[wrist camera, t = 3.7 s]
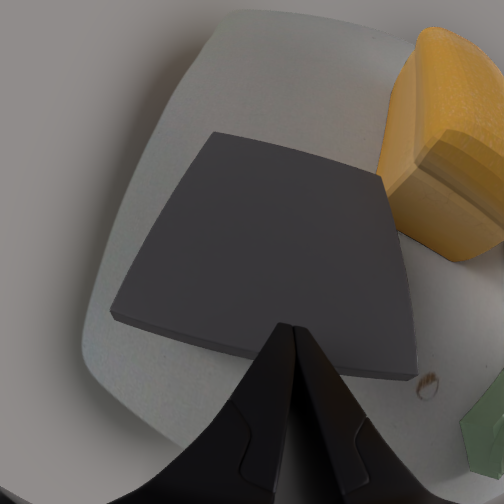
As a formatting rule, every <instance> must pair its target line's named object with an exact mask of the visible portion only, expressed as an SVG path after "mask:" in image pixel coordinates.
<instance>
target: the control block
mask: <svg viewBox="0 0 504 504" xmlns="http://www.w3.org/2000/svg"><path fill="white" fill-rule="evenodd" d="M459 423H460V426H461V430H462V434H463V438H464V442H465V447H466V451H467V456H468V461H469V466H470V471H472V472H475V473H478V474H481V475H485V476H488V477H491V478H495V479H498V480H499V479H500V478H501V476H502V475H503V474H504V369H503V370H502V372H501V373H500V374H499V376H498V377H497V378H496V380H495V381H494V382H493V384H492V385H491V386H490V387H489V389H488V390H487V391H486V392H485V394H484V395H483V396H482V397H481V398H480V400H479V401H478V402H477V403H476V404H475V405H474V407H473V408H472V409H471V410H470V411H469V412H468V413H467V414H466V415H465V416H464V418H463V419H462V420H461V421H460V422H459Z"/></svg>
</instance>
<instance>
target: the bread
mask: <svg viewBox="0 0 504 504" xmlns="http://www.w3.org/2000/svg"><path fill="white" fill-rule="evenodd" d="M376 175H379V176H381V178H382V181H383V184H384V187H385V191H386V194H387V197H388V201H389V204H390V208H391V211H392V215H393V219H394V222H395V226H396V229H397V230H398V231H400V232H402V233H404V234H406V235H407V236H409V237H411V238H413V239H414V240H416V241H418V242H420V243H421V244H423V245H425V246H427V247H428V248H430V249H432V250H433V251H435V252H437V253H438V254H440V255H442V256H443V257H445V258H447V259H448V260H450V261H452V262H458V261H464V260H469V259H471V258H473V257H476V256H478V255H480V254H482V253H484V252H486V251H488V250H490V249H491V248H493V247H495V246H496V245H498V244H499V243H501V242H502V241H504V77H503V75H502V73H501V72H500V70H499V69H498V68H497V66H496V65H495V64H494V63H493V62H492V61H491V59H490V58H489V57H488V56H487V55H486V54H485V53H484V52H483V51H482V50H481V49H480V48H478V47H477V46H476V45H475V44H473V43H472V42H470V41H468V40H467V39H465V38H463V37H461V36H459V35H457V34H455V33H453V32H451V31H448V30H446V29H444V28H440V27H429V28H426V29H424V30H423V31H422V32H421V33H420V34H419V36H418V39H417V42H416V46H415V50H414V51H413V52H412V53H411V55H410V56H409V58H408V60H407V61H406V63H405V65H404V66H403V68H402V70H401V72H400V74H399V76H398V78H397V80H396V82H395V84H394V87H393V90H392V93H391V98H390V104H389V110H388V116H387V122H386V128H385V133H384V139H383V144H382V149H381V154H380V158H379V163H378V168H377V172H376Z"/></svg>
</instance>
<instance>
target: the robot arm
mask: <svg viewBox="0 0 504 504" xmlns="http://www.w3.org/2000/svg"><path fill="white" fill-rule="evenodd" d="M366 416H367V415H366V413H365V412H364V410H363V409H362V408H361V406H360V405H359V403H358V402H357V400H356V399H355V397H354V396H353V394H352V393H351V391H350V390H349V388H348V387H347V385H346V384H345V383H344V381H343V380H342V378H341V377H340V375H339V374H338V372H337V371H336V369H335V368H334V366H333V365H332V363H331V362H330V361H329V359H328V358H327V356H326V355H325V353H324V352H323V350H322V349H321V347H320V346H319V344H318V343H317V341H316V340H315V339H314V337H313V336H312V334H311V333H310V331H309V330H308V329H307V328H306V327H301V326H296V325H294V326H292V325H291V324H287V323H282V322H279V323H277V325H276V327H275V328H274V330H273V331H272V333H271V335H270V336H269V338H268V339H267V341H266V343H265V344H264V346H263V347H262V349H261V351H260V352H259V354H258V355H257V357H256V358H255V360H254V361H253V363H252V365H251V366H250V368H249V369H248V371H247V372H246V374H245V375H244V377H243V378H242V380H241V381H240V383H239V384H238V386H237V387H236V389H235V390H234V392H233V393H232V395H231V396H230V398H229V400H227V402H226V403H225V405H224V406H223V407H222V409H221V410H220V412H219V413H218V414H217V416H216V417H215V418H214V419H213V421H212V422H211V423H210V425H209V426H208V427H207V428H206V429H205V430H204V431H203V432H202V433H201V434H200V435H199V436H198V437H197V438H196V440H194V441H193V442H192V443H191V444H190V445H189V446H188V447H187V448H186V449H185V450H184V451H183V452H182V453H181V454H180V455H179V456H178V457H176V458H175V460H173V461H172V462H171V463H170V464H169V465H168V466H167V467H165V468H164V469H163V470H162V471H161V472H160V473H159V474H157V475H156V476H155V477H154V478H152V479H151V480H150V481H148V482H147V483H145V484H144V485H143V486H141V487H139V488H138V489H136V490H134V491H132V492H130V493H128V494H126V495H124V496H122V497H120V498H118V499H116V500H114V501H112V502H110V503H107V504H459V503H455V502H452V501H448V500H445V499H442V498H439V497H437V496H435V495H434V494H432V493H431V492H429V491H428V490H427V489H426V488H425V487H424V486H423V485H422V484H421V483H420V482H419V481H418V480H417V478H416V477H415V476H414V475H413V474H412V473H411V472H410V470H409V469H408V468H407V467H406V466H405V465H404V463H403V462H402V461H401V460H400V459H399V458H398V457H397V455H396V454H395V453H394V452H393V450H392V449H391V448H390V447H389V445H388V444H387V443H386V442H385V440H384V439H383V438H382V436H381V435H380V433H379V432H378V431H377V429H376V428H375V426H374V425H373V424H372V422H371V421H370V419H369V418H368V417H366ZM0 504H31V503H30V502H27V501H26V500H24V499H22V498H20V497H18V496H16V495H15V494H13V493H11V492H10V491H8V490H6V489H4V488H3V487H0Z"/></svg>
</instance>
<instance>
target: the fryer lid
mask: <svg viewBox="0 0 504 504" xmlns="http://www.w3.org/2000/svg"><path fill="white" fill-rule="evenodd" d="M110 312H111V314H112V316H113V318H114V320H116V321H119V322H122V323H124V324H127V325H130V326H133V327H136V328H139V329H142V330H145V331H148V332H151V333H154V334H158V335H161V336H164V337H167V338H171V339H174V340H177V341H181V342H184V343H188V344H191V345H195V346H199V347H203V348H206V349H210V350H214V351H218V352H222V353H226V354H230V355H235V356H239V357H243V358H248V359H252V360H255V358H256V357H257V355H258V354H259V352H260V351H261V349H262V347H263V346H264V344H265V343H266V341H267V339H268V338H269V336H270V335H271V333H272V331H273V330H274V328H275V327H276V325H277V323H279V322H282V323H287V324H291V325H292V326H294V325H296V326H301V327H306V328H307V329H308V330H309V331H310V333H311V334H312V336H313V337H314V339H315V340H316V341H317V343H318V344H319V346H320V347H321V349H322V350H323V352H324V353H325V355H326V356H327V358H328V359H329V361H330V362H331V363H332V365H333V366H334V368H335V369H336V371H337V372H338V374H339V375H347V376H355V377H364V378H374V379H386V380H400V381H408V380H410V379H412V378H414V377H416V376H418V374H419V372H418V357H417V346H416V336H415V327H414V319H413V312H412V305H411V298H410V292H409V286H408V281H407V276H406V270H405V265H404V261H403V256H402V251H401V247H400V243H399V238H398V234H397V230H396V226H395V222H394V219H393V215H392V211H391V208H390V204H389V201H388V197H387V194H386V191H385V187H384V184H383V181H382V178H381V176H379V175H376V174H373V173H370V172H367V171H364V170H362V169H359V168H356V167H352V166H349V165H346V164H343V163H340V162H337V161H333V160H330V159H327V158H323V157H320V156H317V155H313V154H309V153H306V152H302V151H298V150H295V149H291V148H287V147H283V146H279V145H275V144H271V143H266V142H262V141H258V140H253V139H249V138H244V137H239V136H234V135H229V134H224V133H218V132H213V133H212V134H211V136H210V137H209V139H208V140H207V142H206V143H205V144H204V146H203V147H202V149H201V150H200V152H199V153H198V155H197V156H196V158H195V159H194V161H193V162H192V164H191V165H190V167H189V168H188V170H187V171H186V173H185V174H184V176H183V177H182V179H181V181H180V182H179V184H178V185H177V187H176V188H175V190H174V192H173V193H172V195H171V197H170V198H169V200H168V201H167V203H166V205H165V206H164V208H163V210H162V211H161V213H160V215H159V217H158V218H157V220H156V222H155V223H154V225H153V227H152V229H151V230H150V232H149V234H148V236H147V237H146V239H145V241H144V243H143V245H142V247H141V248H140V250H139V252H138V254H137V256H136V258H135V260H134V261H133V263H132V265H131V267H130V269H129V271H128V273H127V275H126V277H125V279H124V281H123V283H122V285H121V287H120V289H119V291H118V293H117V295H116V297H115V299H114V301H113V303H112V305H111V308H110Z"/></svg>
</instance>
